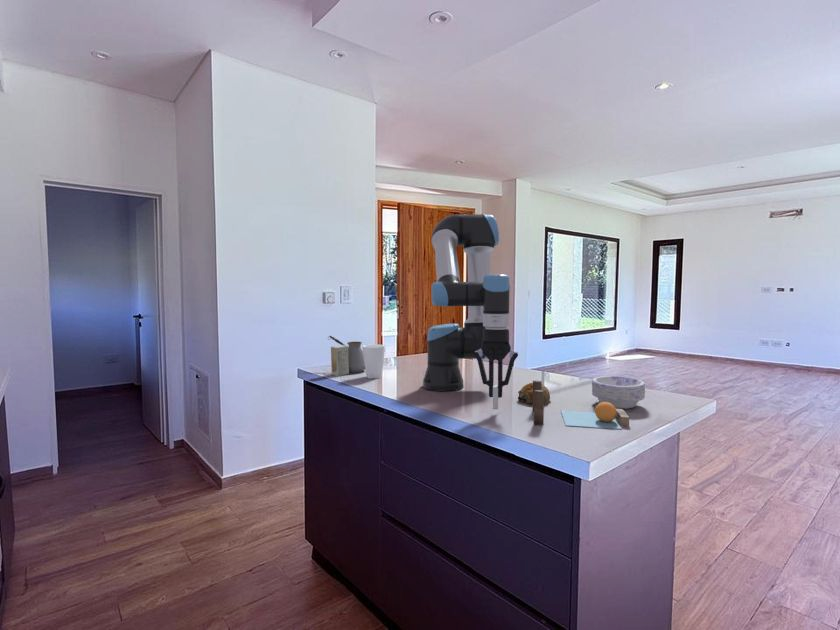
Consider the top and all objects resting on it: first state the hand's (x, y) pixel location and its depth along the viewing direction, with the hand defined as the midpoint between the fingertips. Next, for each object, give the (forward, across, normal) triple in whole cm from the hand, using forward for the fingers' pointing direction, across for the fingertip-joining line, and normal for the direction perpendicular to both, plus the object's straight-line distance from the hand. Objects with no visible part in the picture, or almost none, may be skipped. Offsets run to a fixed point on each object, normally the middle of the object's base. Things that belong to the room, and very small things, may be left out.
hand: (495, 408), depth 131 cm
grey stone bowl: (+2, +37, +18) cm, 41 cm away
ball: (-1, +30, -1) cm, 30 cm away
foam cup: (+2, -52, +44) cm, 68 cm away
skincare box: (+2, -68, +46) cm, 82 cm away
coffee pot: (+2, -69, +56) cm, 89 cm away
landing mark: (+2, +26, 0) cm, 26 cm away
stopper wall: (+2, +34, 0) cm, 35 cm away
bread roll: (+2, +12, +18) cm, 21 cm away
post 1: (+2, +12, +6) cm, 14 cm away
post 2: (+2, +12, -6) cm, 14 cm away
